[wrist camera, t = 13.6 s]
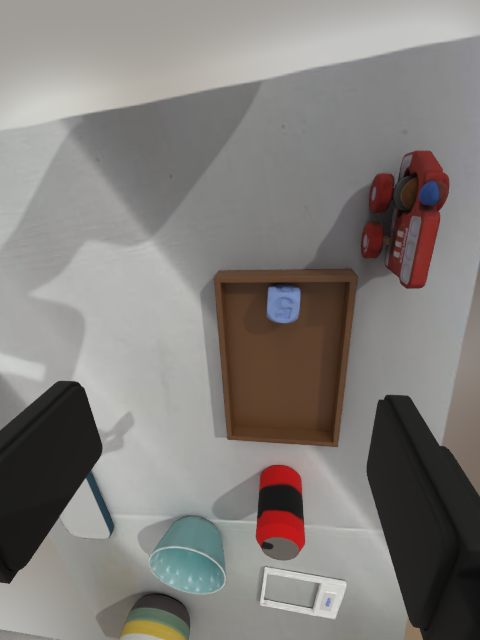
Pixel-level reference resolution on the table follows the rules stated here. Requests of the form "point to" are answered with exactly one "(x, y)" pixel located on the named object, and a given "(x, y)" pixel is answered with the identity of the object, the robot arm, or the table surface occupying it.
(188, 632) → the vase
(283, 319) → the decorative dice
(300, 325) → the tray
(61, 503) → the robot arm
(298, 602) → the table surface
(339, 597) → the photo frame
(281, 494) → the soda can
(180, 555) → the bowl
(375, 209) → the toy fire truck
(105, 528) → the external hard drive
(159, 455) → the table surface
